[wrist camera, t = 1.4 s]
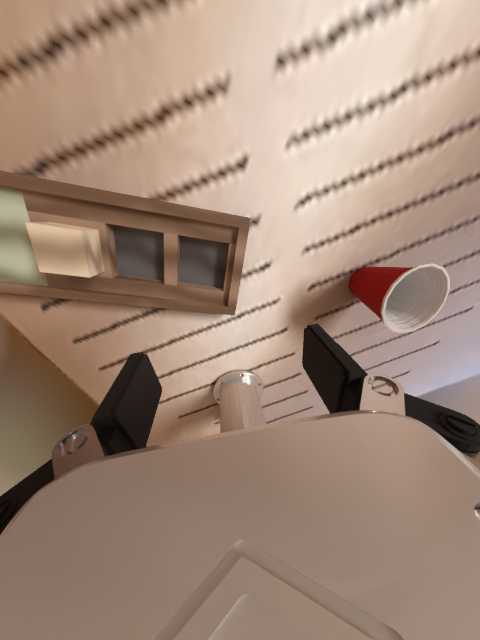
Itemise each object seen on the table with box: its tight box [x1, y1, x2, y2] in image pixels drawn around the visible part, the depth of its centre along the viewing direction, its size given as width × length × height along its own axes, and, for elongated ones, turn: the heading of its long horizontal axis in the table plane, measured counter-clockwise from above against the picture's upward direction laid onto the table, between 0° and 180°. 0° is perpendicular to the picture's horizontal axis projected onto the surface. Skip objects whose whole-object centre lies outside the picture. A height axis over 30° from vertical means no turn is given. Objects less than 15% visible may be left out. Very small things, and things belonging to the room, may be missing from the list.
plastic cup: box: [349, 264, 450, 333], centre depth 34 cm, size 11×11×12 cm
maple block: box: [25, 222, 104, 278], centre depth 27 cm, size 6×6×4 cm
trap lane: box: [0, 171, 251, 315], centre depth 29 cm, size 16×40×6 cm, turn 81°
